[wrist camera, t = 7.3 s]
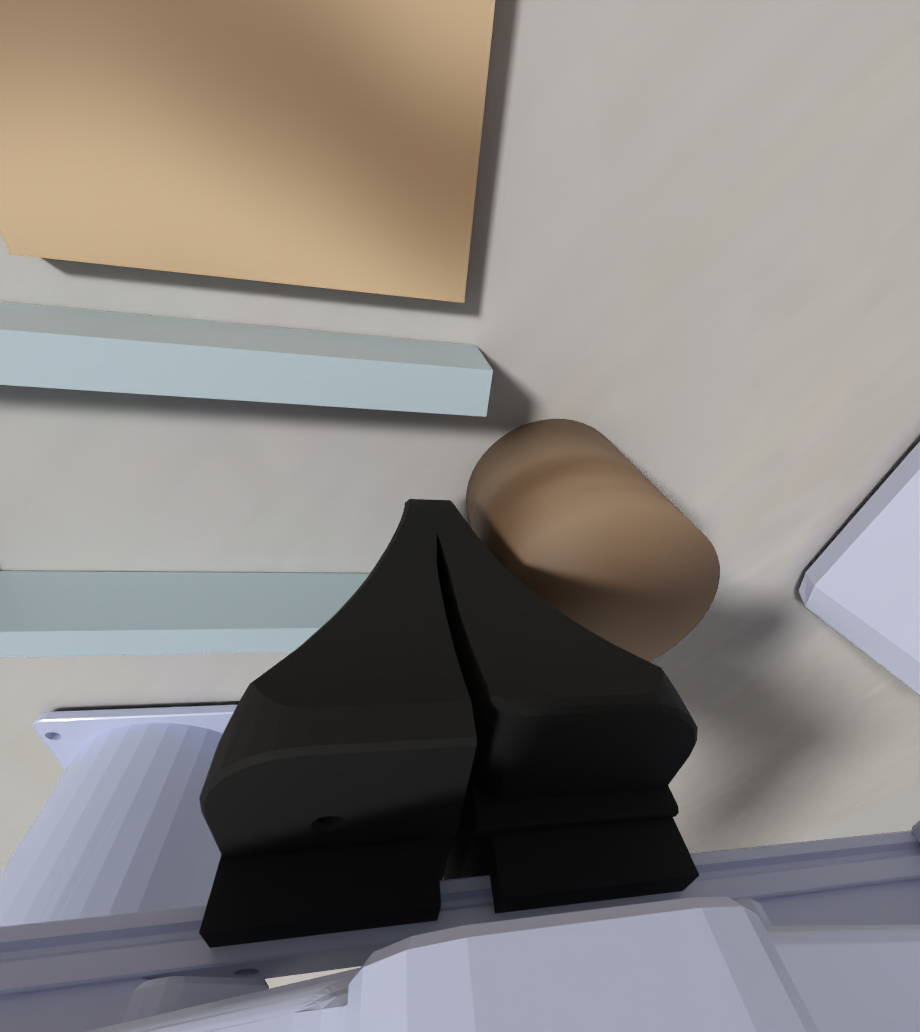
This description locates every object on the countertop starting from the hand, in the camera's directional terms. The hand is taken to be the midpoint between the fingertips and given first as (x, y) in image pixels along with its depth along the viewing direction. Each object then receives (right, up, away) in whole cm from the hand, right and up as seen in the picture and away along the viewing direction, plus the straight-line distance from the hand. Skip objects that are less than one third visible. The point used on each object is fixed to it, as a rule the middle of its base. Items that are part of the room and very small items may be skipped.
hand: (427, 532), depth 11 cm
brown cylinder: (+3, +1, +2) cm, 4 cm away
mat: (-3, +8, -3) cm, 10 cm away
